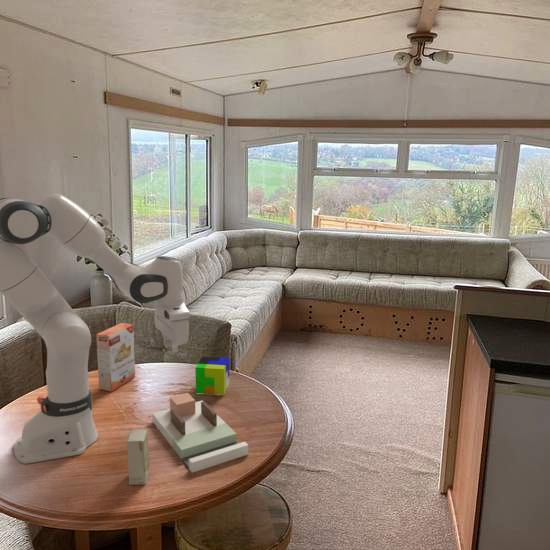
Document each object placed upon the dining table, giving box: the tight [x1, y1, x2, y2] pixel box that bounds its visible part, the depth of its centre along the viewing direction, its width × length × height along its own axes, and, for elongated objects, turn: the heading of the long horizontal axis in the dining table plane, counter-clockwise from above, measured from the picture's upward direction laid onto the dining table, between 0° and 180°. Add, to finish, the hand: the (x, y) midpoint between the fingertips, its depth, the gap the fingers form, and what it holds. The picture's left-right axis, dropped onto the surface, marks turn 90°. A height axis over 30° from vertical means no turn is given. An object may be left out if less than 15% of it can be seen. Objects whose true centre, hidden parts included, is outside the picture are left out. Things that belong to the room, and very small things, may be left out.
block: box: [169, 392, 196, 417], centre depth 163 cm, size 6×6×4 cm
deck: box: [151, 400, 249, 474], centre depth 155 cm, size 17×31×3 cm, turn 32°
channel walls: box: [170, 400, 218, 435], centre depth 156 cm, size 11×9×4 cm
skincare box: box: [126, 429, 150, 486], centre depth 134 cm, size 6×4×12 cm
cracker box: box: [96, 322, 136, 393], centre depth 188 cm, size 14×6×21 cm, turn 159°
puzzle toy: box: [194, 356, 230, 395], centre depth 186 cm, size 10×10×10 cm
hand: (171, 348), depth 167 cm, fingers open, 4 cm apart
